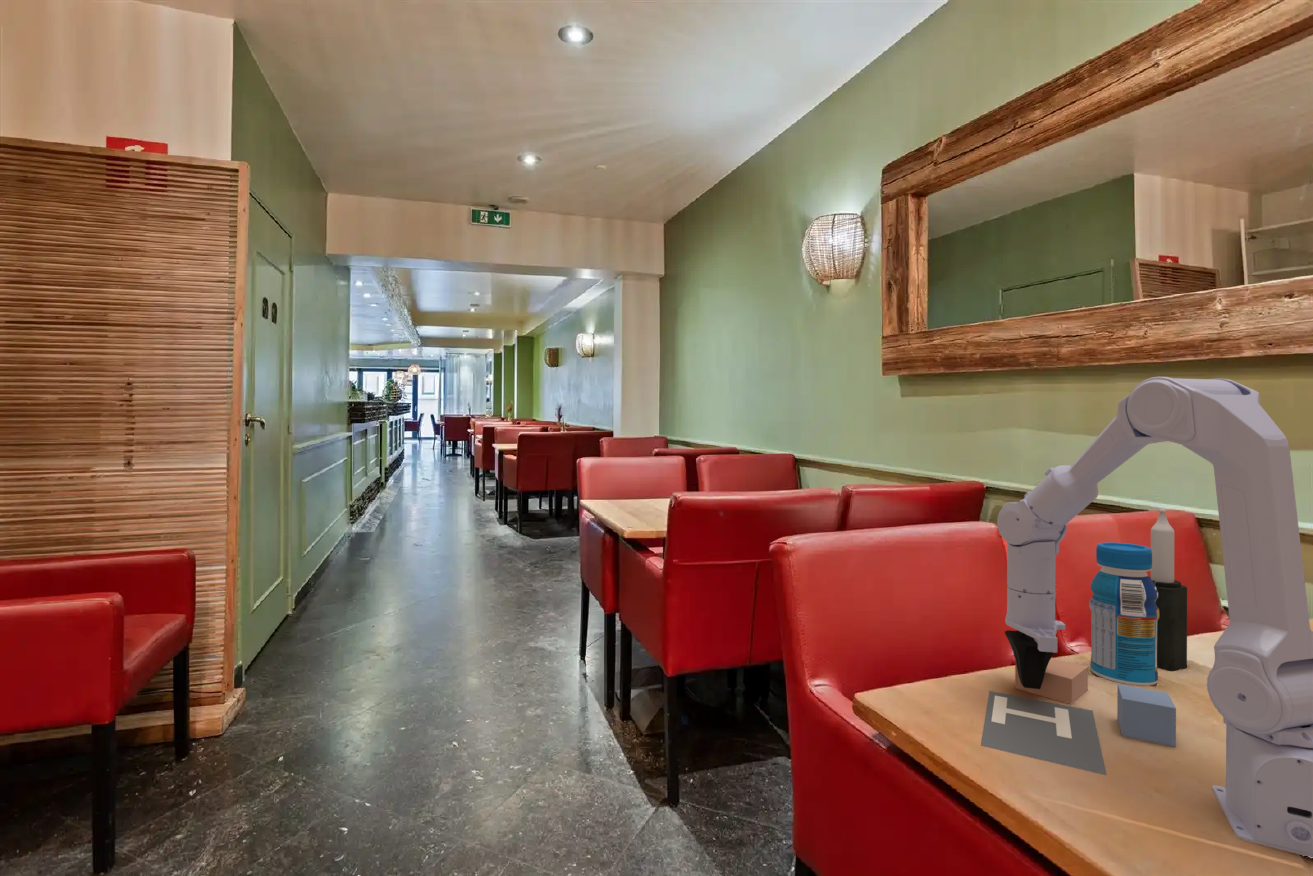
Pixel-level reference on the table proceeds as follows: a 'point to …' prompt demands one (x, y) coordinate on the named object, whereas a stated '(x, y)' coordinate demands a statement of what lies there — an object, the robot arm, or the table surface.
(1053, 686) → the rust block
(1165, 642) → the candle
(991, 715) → the letter mat
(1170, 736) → the blue cube
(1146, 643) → the blue supplement bottle
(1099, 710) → the table surface
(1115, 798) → the table surface
